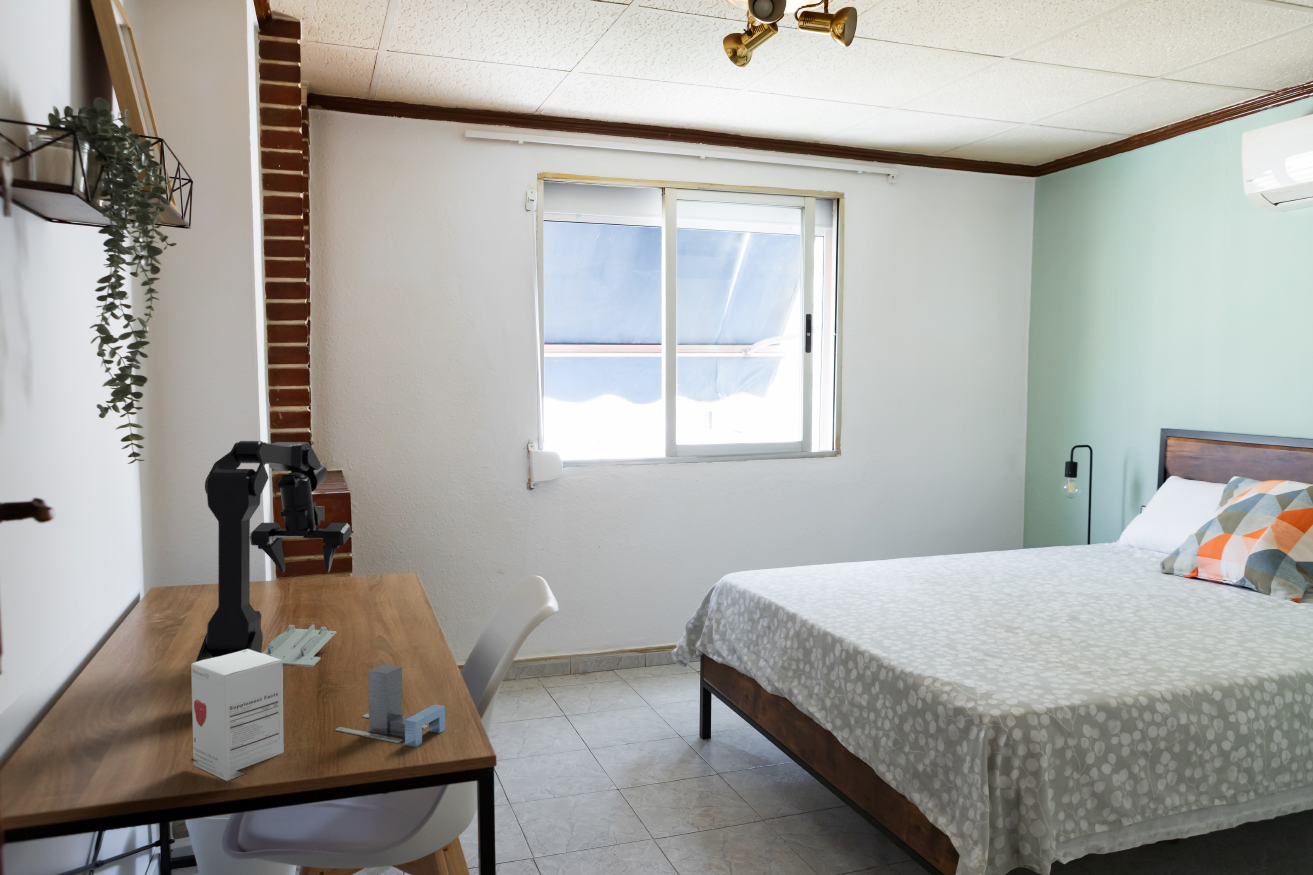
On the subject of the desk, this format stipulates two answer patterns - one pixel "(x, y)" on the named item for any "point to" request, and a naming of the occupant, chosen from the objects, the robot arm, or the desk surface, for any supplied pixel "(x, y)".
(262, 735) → the supplement box
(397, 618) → the desk surface
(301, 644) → the metal bracket
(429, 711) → the blue gray railed fixture
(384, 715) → the tall gray pillar
